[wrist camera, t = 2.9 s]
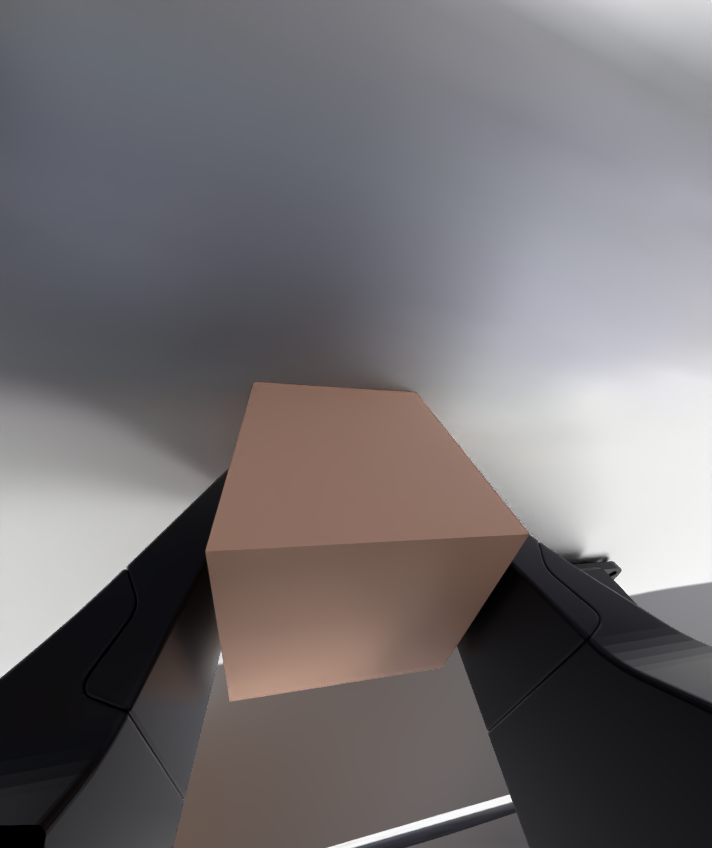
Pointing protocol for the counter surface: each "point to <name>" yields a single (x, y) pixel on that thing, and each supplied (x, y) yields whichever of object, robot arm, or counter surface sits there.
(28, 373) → the counter surface
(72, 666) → the robot arm
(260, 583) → the terracotta cube
